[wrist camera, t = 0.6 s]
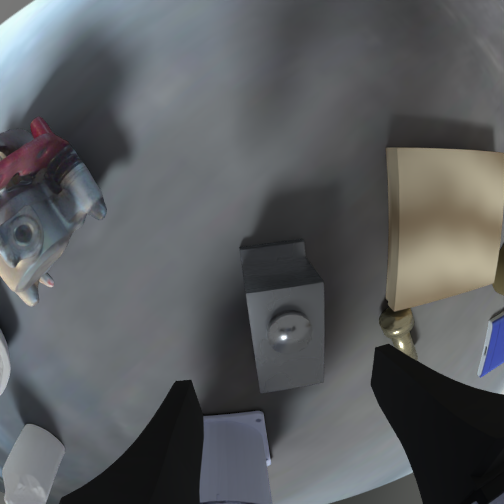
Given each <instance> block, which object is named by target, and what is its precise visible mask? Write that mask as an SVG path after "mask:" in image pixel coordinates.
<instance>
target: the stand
mask: <svg viewBox="0 0 504 504" xmlns="http://www.w3.org/2000/svg"><path fill="white" fill-rule="evenodd" d="M386 158H387V175H388V206H389V238H388V269H387V286H386V299H387V300H388V306H389V307H390V308H391V309H392V310H393V311H394V312H395V311H399V310H403V309H407V308H411V307H415V306H418V305H422V304H426V303H430V302H433V301H437V300H440V299H444V298H448V297H451V296H454V295H458V294H461V293H464V292H468V291H471V290H474V289H477V288H480V287H483V286H487V285H490V284H493V283H494V280H495V274H496V269H497V262H498V256H499V248H500V240H501V231H502V220H503V205H504V153H500V152H491V151H480V150H463V149H442V148H402V147H396V148H386Z"/></svg>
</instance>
